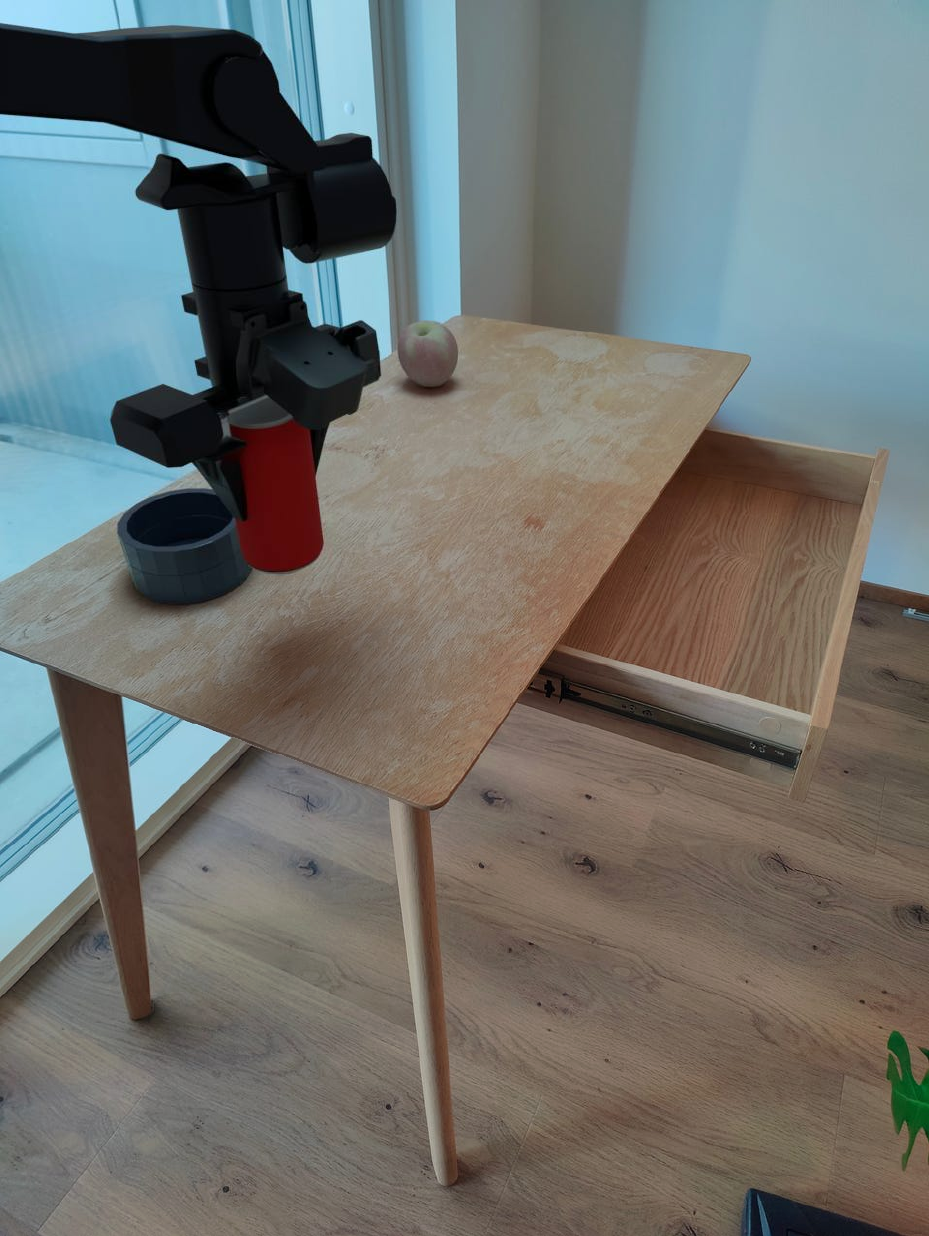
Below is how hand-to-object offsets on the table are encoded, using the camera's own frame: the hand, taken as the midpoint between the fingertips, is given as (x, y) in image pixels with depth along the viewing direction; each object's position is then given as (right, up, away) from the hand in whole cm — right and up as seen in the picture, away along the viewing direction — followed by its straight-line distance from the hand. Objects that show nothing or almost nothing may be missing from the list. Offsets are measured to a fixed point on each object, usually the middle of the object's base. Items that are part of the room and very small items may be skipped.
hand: (274, 501), depth 61 cm
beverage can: (0, -4, +3) cm, 5 cm away
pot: (-11, -4, +16) cm, 20 cm away
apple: (+9, +22, +49) cm, 55 cm away
